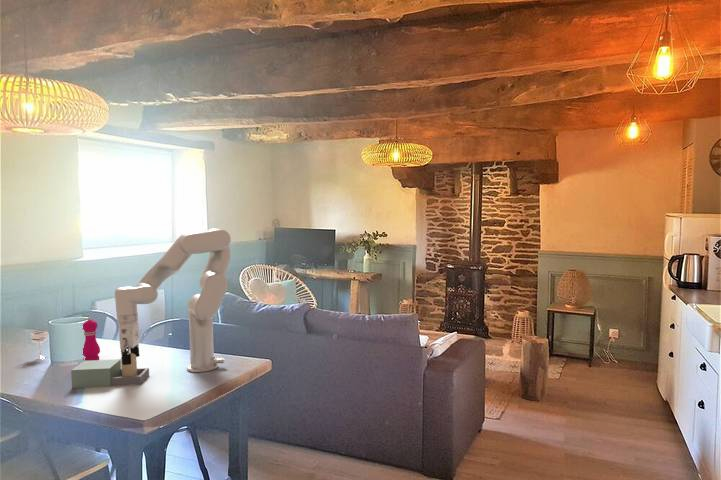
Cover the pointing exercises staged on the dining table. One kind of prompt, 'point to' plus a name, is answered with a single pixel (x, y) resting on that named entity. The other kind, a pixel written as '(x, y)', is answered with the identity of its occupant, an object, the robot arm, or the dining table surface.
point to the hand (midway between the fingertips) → (131, 360)
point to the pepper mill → (90, 340)
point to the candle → (130, 367)
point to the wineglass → (39, 340)
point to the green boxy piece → (104, 374)
